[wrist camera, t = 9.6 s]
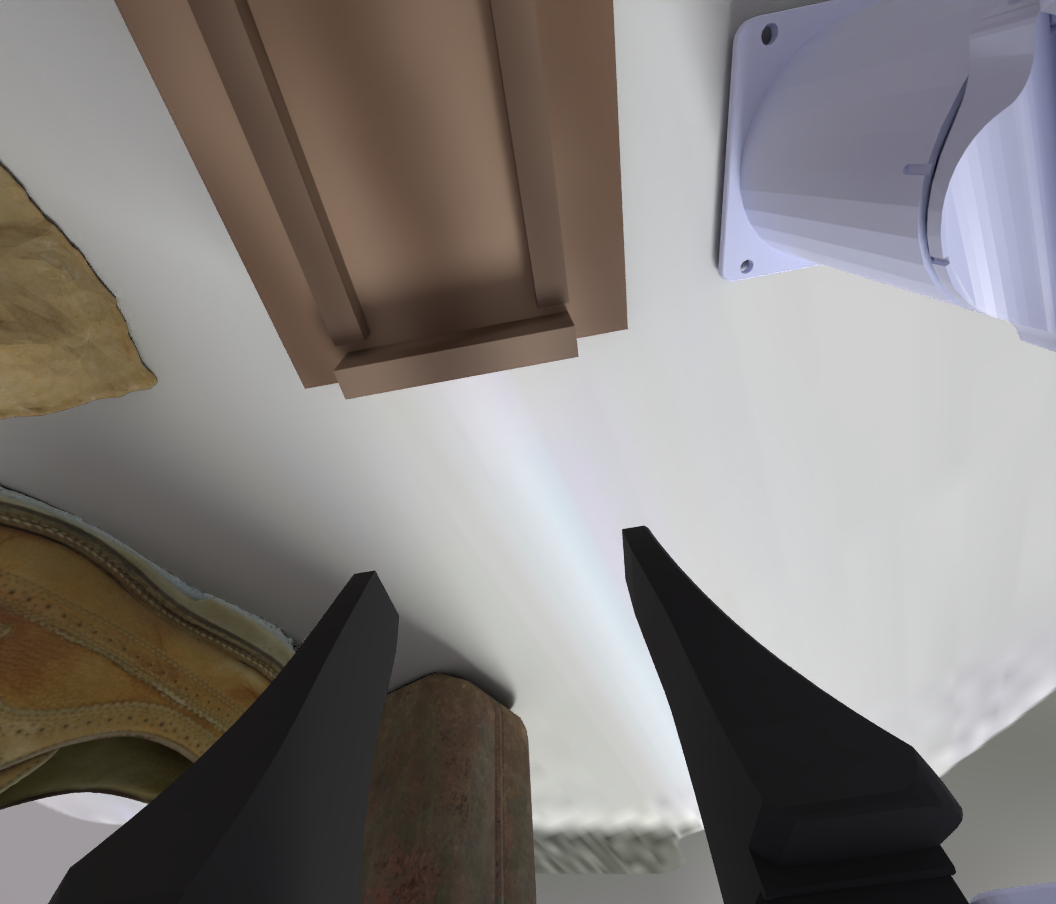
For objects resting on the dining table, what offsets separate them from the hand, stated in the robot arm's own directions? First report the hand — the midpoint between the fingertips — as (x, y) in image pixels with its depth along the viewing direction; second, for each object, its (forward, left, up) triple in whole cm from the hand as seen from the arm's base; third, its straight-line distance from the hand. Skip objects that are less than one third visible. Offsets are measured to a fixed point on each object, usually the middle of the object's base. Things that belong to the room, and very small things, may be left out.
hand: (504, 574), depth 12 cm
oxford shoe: (+26, +7, -11) cm, 29 cm away
